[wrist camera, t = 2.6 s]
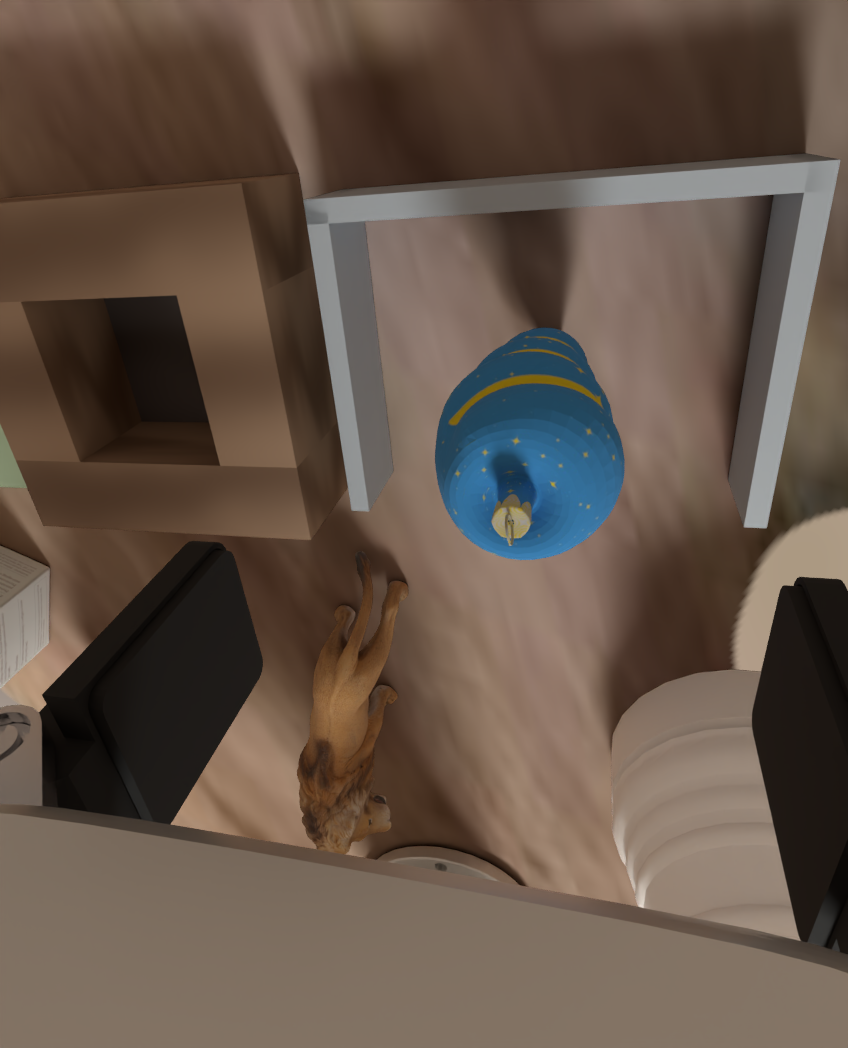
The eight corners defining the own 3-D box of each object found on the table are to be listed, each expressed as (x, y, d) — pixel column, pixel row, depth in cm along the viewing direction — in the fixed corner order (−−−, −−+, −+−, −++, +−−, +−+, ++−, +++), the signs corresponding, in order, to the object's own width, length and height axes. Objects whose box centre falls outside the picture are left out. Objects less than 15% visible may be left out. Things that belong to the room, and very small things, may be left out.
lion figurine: (420, 745, 42) (380, 881, 35) (340, 733, 43) (284, 861, 36) (409, 549, 35) (355, 668, 27) (312, 539, 36) (234, 651, 28)
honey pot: (856, 841, 38) (1019, 1315, 23) (620, 827, 42) (627, 1224, 27) (879, 668, 32) (1119, 1155, 17) (601, 670, 36) (596, 1067, 21)
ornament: (609, 265, 26) (611, 404, 13) (625, 392, 28) (640, 613, 16) (478, 295, 27) (371, 444, 15) (504, 412, 30) (429, 627, 17)
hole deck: (347, 487, 34) (310, 539, 29) (106, 479, 37) (43, 525, 33) (298, 172, 27) (241, 183, 22) (7, 197, 30) (-91, 210, 26)
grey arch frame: (748, 480, 29) (766, 528, 25) (377, 470, 33) (351, 510, 29) (806, 153, 23) (840, 159, 19) (341, 189, 27) (303, 200, 23)
